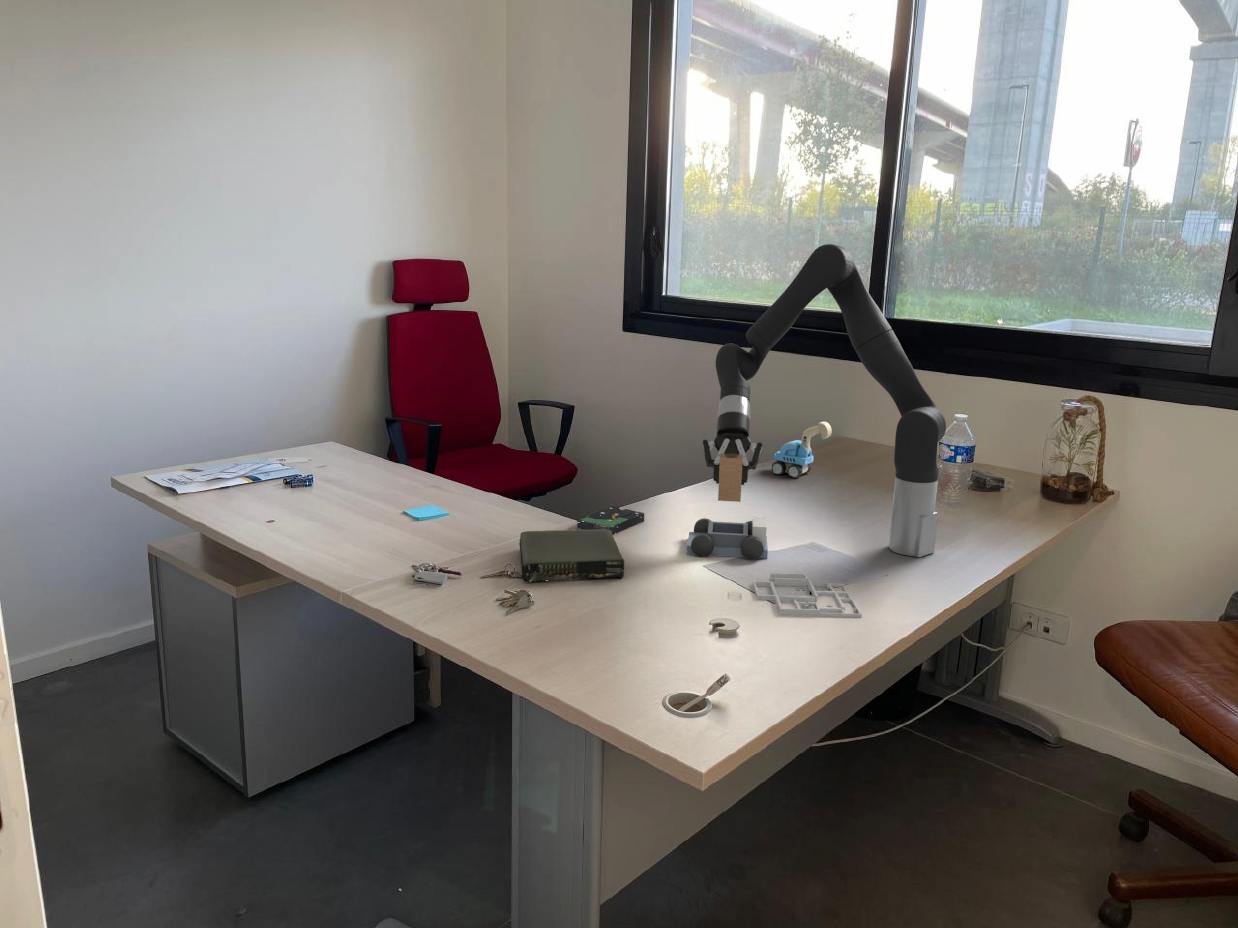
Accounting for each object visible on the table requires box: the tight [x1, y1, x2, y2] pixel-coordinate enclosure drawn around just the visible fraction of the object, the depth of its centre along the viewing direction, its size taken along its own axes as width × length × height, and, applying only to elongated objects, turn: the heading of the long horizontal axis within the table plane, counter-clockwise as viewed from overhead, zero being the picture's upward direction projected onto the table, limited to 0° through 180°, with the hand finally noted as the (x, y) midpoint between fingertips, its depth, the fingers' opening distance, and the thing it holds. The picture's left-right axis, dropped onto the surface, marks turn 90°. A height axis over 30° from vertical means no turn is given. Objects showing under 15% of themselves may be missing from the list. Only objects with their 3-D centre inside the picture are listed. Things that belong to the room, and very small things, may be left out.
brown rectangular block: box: [717, 452, 743, 503], centre depth 208 cm, size 5×5×10 cm
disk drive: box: [576, 505, 645, 536], centre depth 228 cm, size 10×3×15 cm
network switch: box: [518, 529, 625, 583], centre depth 201 cm, size 23×23×5 cm
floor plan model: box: [752, 572, 863, 618], centre depth 185 cm, size 19×25×2 cm
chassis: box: [686, 515, 769, 561], centre depth 211 cm, size 18×13×7 cm
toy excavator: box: [771, 421, 833, 479], centre depth 275 cm, size 9×17×17 cm, turn 53°
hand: (730, 482), depth 206 cm, fingers closed on brown rectangular block, 5 cm apart
